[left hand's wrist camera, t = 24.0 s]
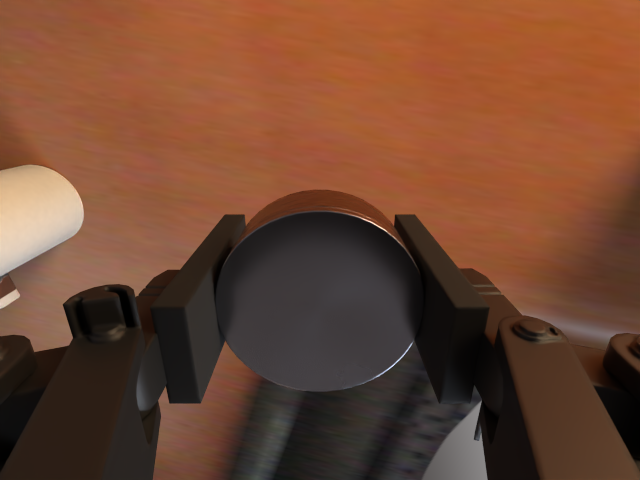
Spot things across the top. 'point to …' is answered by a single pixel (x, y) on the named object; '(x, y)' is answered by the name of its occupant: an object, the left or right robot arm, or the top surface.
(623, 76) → the top surface
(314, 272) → the lid
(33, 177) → the white cylindrical bottle
